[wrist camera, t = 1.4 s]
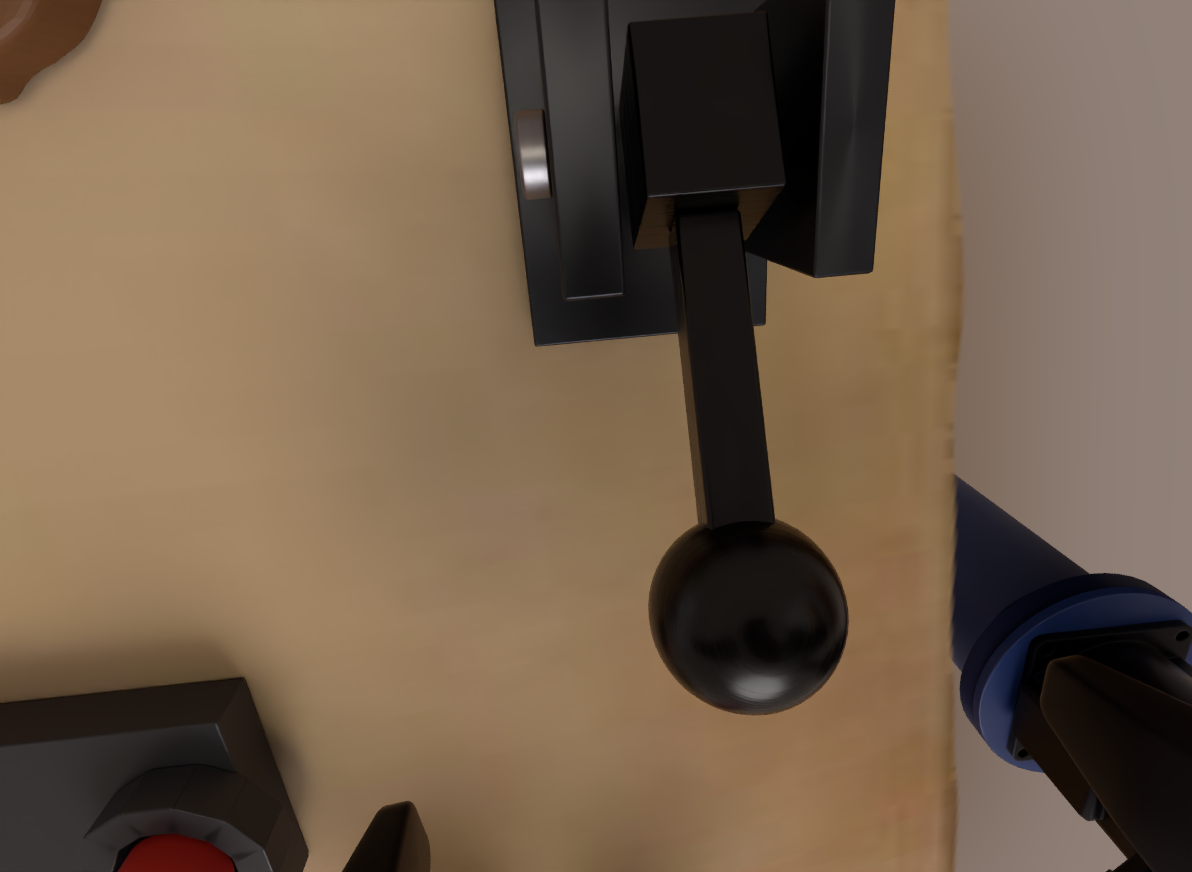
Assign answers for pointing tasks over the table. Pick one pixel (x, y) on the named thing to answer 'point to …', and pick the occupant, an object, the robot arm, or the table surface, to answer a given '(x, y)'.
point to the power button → (176, 856)
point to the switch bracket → (597, 172)
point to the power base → (141, 779)
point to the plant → (38, 37)
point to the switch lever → (722, 366)
